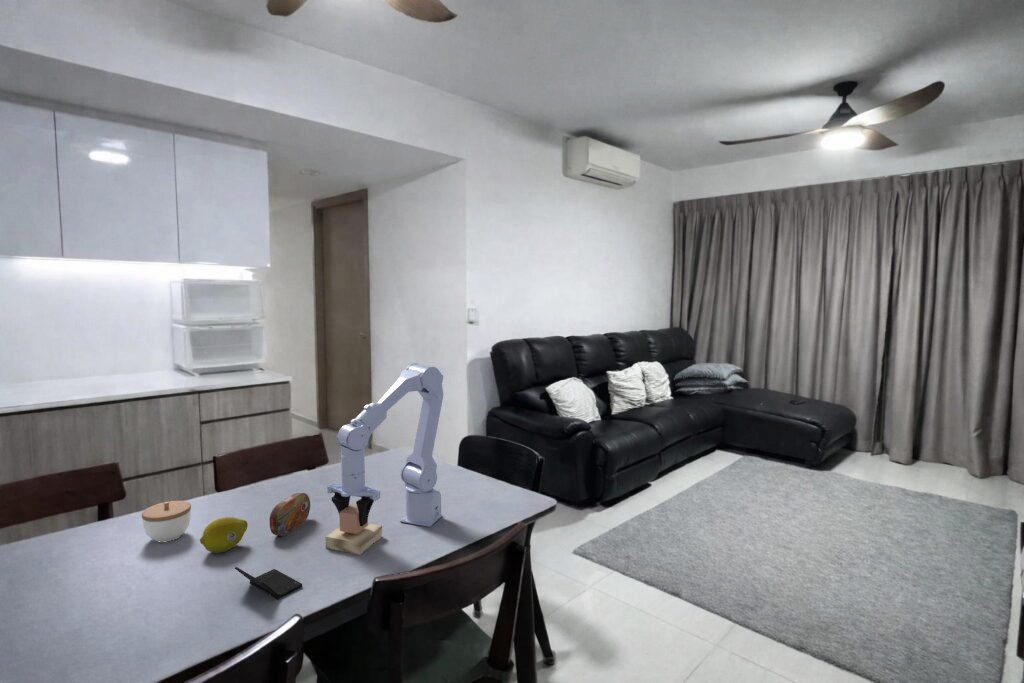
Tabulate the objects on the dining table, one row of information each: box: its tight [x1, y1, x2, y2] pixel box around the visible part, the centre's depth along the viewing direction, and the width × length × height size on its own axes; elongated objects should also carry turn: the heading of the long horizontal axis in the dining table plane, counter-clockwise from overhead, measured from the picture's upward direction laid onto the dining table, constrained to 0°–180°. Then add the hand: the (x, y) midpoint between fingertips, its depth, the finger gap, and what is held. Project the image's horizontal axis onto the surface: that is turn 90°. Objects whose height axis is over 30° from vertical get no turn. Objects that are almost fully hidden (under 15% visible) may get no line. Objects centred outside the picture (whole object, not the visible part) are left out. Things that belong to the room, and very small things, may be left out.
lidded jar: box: [141, 500, 192, 542], centre depth 137 cm, size 11×11×9 cm
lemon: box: [199, 516, 249, 554], centre depth 131 cm, size 11×8×8 cm
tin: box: [269, 492, 311, 537], centre depth 143 cm, size 15×3×8 cm, turn 168°
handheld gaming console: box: [234, 566, 303, 601], centre depth 115 cm, size 12×7×10 cm
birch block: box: [325, 522, 383, 556], centre depth 136 cm, size 10×10×3 cm
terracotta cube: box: [338, 504, 369, 534], centre depth 136 cm, size 5×5×5 cm
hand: (354, 522), depth 136 cm, fingers closed on terracotta cube, 5 cm apart
